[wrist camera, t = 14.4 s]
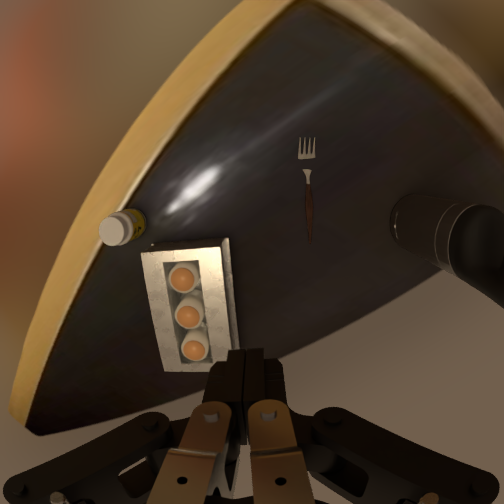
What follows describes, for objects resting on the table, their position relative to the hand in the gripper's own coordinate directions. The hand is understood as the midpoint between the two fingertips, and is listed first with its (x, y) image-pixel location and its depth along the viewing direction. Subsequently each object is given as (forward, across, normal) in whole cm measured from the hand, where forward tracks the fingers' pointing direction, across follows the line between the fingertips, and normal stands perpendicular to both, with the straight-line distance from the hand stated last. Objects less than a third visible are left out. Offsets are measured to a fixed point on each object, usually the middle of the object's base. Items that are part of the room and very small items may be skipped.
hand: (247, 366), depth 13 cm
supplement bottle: (+35, +19, -3) cm, 40 cm away
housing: (+35, +10, +10) cm, 38 cm away
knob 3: (+34, +10, +15) cm, 38 cm away
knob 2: (+34, +10, +10) cm, 36 cm away
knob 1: (+34, +10, +5) cm, 35 cm away
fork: (+36, -8, -6) cm, 37 cm away
